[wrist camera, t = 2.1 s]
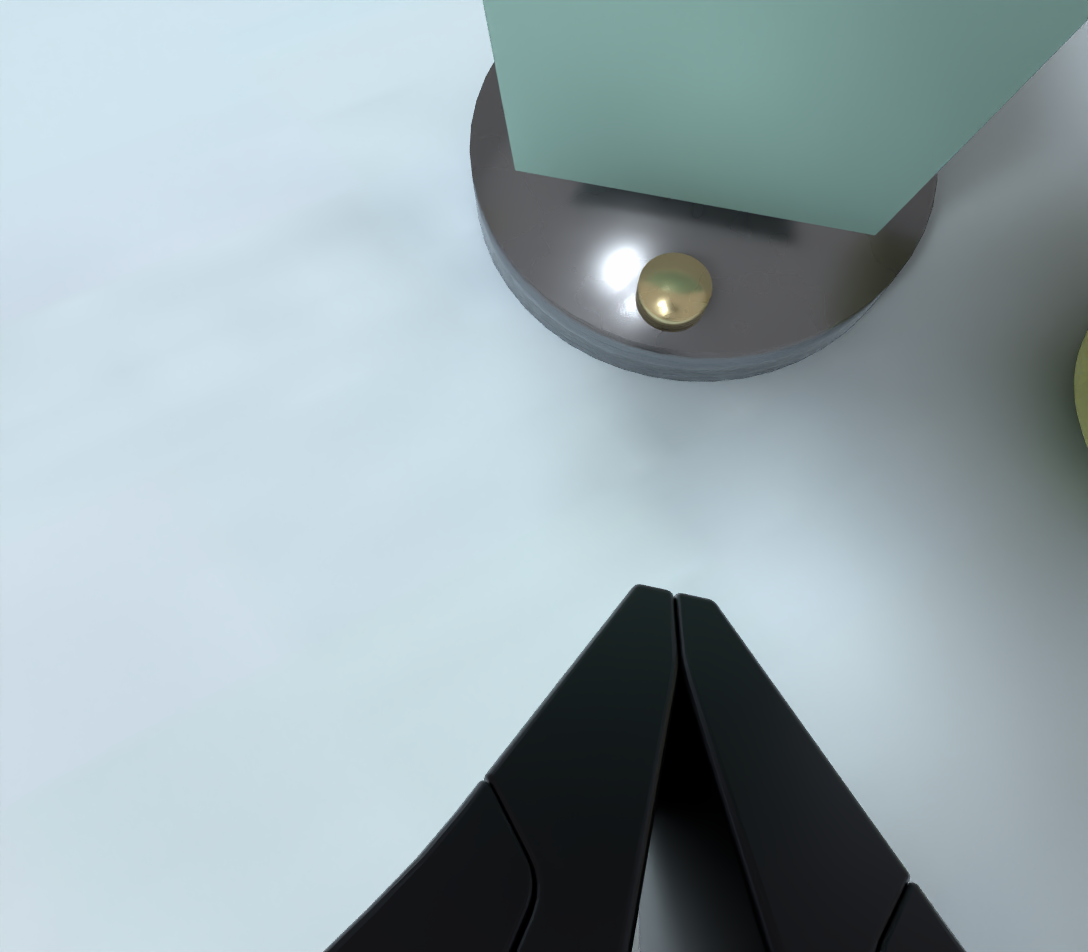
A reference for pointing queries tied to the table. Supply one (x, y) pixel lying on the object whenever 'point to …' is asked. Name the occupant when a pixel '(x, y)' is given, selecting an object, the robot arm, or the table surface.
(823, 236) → the dark grey disc
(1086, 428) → the cell model
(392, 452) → the table surface
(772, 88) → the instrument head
